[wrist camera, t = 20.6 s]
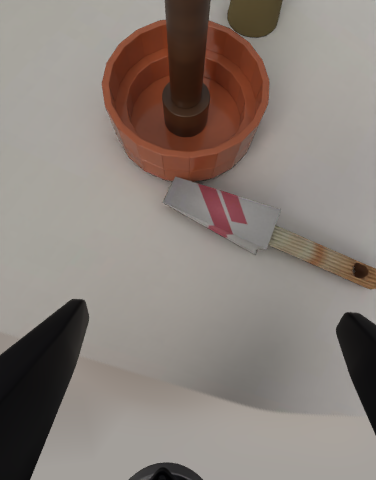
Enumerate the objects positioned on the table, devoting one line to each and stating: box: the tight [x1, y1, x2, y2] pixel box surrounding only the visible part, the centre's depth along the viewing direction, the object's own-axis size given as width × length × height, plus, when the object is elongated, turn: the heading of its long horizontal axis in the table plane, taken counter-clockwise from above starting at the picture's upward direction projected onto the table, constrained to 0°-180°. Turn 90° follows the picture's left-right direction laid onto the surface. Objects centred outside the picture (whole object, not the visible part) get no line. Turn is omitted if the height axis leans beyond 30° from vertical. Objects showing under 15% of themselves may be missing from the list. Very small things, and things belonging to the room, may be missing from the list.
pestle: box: [162, 0, 210, 137], centre depth 19 cm, size 4×4×12 cm
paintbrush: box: [163, 177, 376, 289], centre depth 22 cm, size 4×3×20 cm
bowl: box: [102, 20, 269, 182], centre depth 23 cm, size 14×14×5 cm
